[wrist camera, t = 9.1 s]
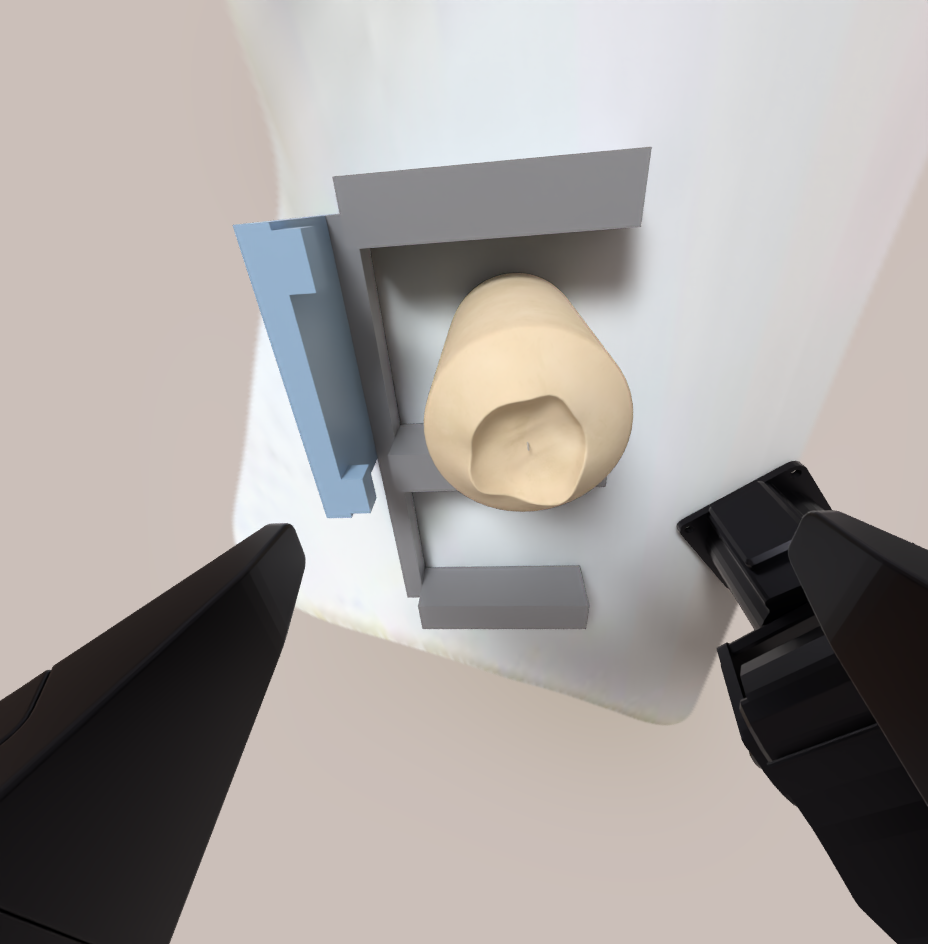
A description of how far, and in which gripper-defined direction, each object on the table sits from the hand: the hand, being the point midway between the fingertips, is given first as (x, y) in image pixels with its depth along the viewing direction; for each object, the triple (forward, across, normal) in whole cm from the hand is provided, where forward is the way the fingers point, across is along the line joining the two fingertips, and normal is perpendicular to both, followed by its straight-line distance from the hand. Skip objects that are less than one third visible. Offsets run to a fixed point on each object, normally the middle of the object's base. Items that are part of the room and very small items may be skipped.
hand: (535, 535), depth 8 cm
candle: (+13, 0, 0) cm, 13 cm away
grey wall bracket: (+13, +2, +5) cm, 14 cm away
